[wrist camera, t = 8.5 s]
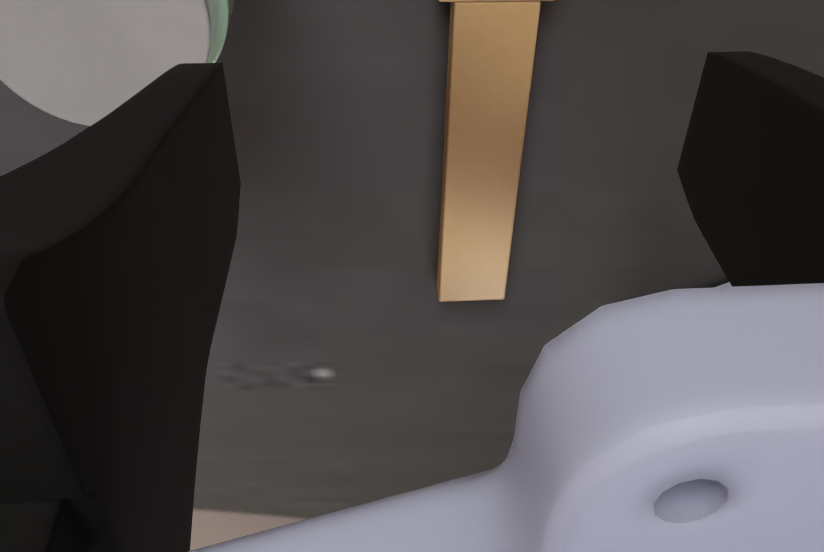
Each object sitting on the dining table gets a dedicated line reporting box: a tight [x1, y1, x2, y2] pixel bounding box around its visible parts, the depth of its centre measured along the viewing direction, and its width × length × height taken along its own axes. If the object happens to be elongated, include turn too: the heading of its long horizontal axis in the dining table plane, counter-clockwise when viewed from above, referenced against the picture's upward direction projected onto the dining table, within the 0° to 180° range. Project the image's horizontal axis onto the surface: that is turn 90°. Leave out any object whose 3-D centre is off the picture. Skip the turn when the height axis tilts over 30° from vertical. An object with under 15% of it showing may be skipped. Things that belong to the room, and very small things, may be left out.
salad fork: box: [437, 0, 556, 302], centre depth 21 cm, size 18×5×1 cm, turn 179°
